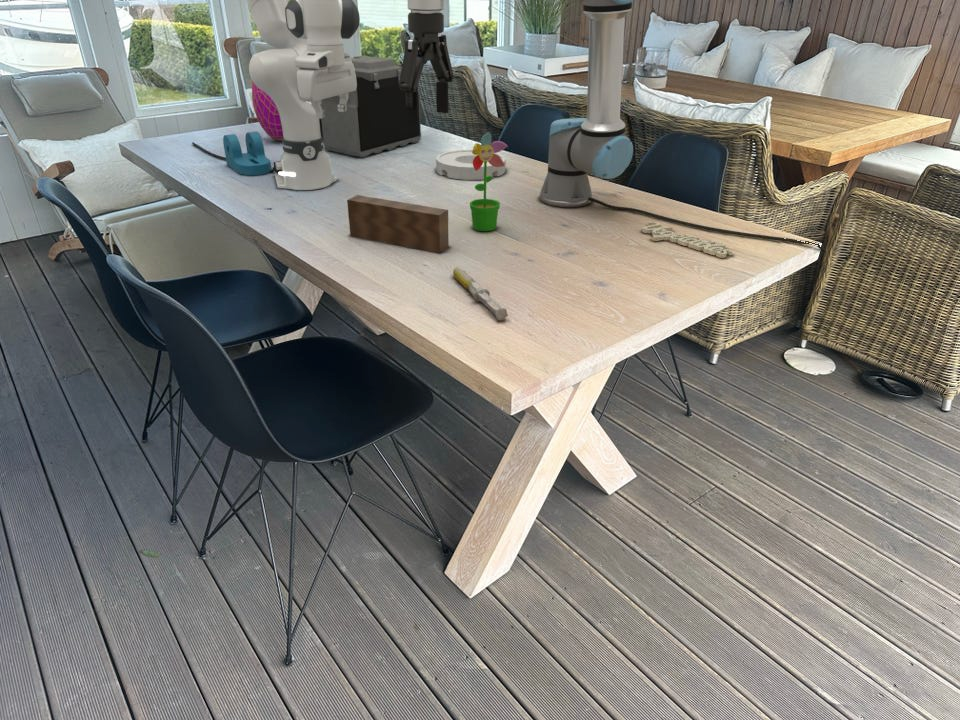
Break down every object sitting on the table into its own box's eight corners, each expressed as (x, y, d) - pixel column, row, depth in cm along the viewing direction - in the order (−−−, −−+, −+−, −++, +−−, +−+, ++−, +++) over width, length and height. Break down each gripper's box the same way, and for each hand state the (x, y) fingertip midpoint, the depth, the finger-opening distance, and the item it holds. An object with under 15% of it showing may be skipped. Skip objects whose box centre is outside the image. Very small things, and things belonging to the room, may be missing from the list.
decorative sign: (628, 228, 179) (651, 220, 185) (628, 232, 180) (651, 224, 186) (717, 257, 162) (740, 248, 168) (716, 261, 163) (739, 251, 169)
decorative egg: (293, 132, 276) (283, 50, 261) (319, 140, 264) (310, 56, 249) (249, 139, 265) (236, 54, 250) (273, 148, 253) (261, 60, 238)
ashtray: (439, 160, 240) (438, 148, 238) (505, 161, 240) (505, 150, 238) (433, 179, 220) (432, 166, 218) (505, 180, 220) (505, 168, 218)
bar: (448, 247, 170) (448, 209, 165) (440, 253, 166) (439, 215, 161) (360, 230, 179) (357, 194, 174) (350, 236, 176) (346, 199, 171)
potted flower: (476, 234, 177) (477, 135, 164) (462, 225, 183) (462, 128, 170) (508, 229, 181) (511, 131, 168) (493, 220, 187) (496, 125, 174)
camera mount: (227, 164, 233) (221, 132, 227) (257, 160, 238) (252, 129, 233) (244, 176, 220) (239, 143, 215) (276, 172, 225) (271, 139, 220)
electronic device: (383, 133, 276) (378, 52, 261) (425, 141, 265) (422, 56, 250) (314, 150, 251) (304, 61, 235) (358, 160, 240) (350, 67, 224)
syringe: (449, 274, 155) (449, 263, 153) (465, 272, 156) (464, 260, 154) (490, 323, 135) (491, 310, 133) (508, 319, 136) (508, 307, 134)
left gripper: (340, 51, 180) (344, 106, 187) (290, 60, 164) (297, 120, 171) (360, 53, 178) (364, 109, 185) (311, 62, 162) (318, 123, 169)
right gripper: (438, 7, 154) (439, 106, 165) (377, 14, 135) (384, 126, 145) (468, 9, 151) (467, 109, 162) (410, 16, 132) (414, 130, 143)
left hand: (331, 114), depth 178 cm, fingers open, 8 cm apart
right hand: (428, 117), depth 154 cm, fingers open, 13 cm apart
